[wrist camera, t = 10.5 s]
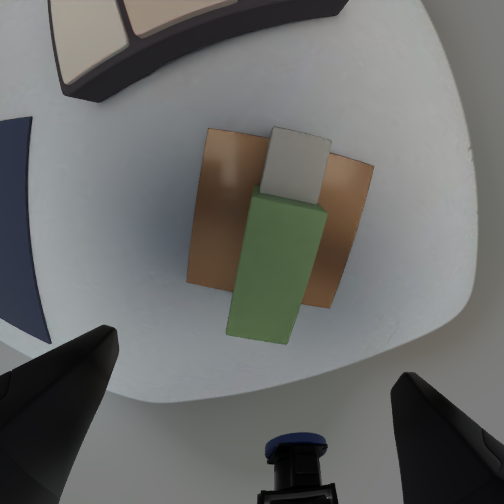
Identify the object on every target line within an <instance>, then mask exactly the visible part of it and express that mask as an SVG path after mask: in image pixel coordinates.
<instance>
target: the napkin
mask: <svg viewBox="0 0 504 504" xmlns="http://www.w3.org/2000/svg"><path fill="white" fill-rule="evenodd" d="M31 122H32V117H24V118H17V119H10V120H4V121H0V318H1V319H3V320H5V321H6V322H8V323H10V324H11V325H13V326H15V327H17V328H19V329H20V330H22V331H24V332H26V333H28V334H30V335H32V336H34V337H36V338H38V339H40V340H42V341H44V342H46V343H48V344H51V340H50V336H49V333H48V329H47V326H46V322H45V318H44V314H43V310H42V306H41V302H40V297H39V293H38V288H37V283H36V277H35V271H34V265H33V258H32V251H31V242H30V232H29V219H28V196H27V176H28V152H29V140H30V130H31Z"/></svg>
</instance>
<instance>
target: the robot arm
mask: <svg viewBox="0 0 504 504" xmlns="http://www.w3.org/2000/svg"><path fill="white" fill-rule="evenodd" d="M118 354H119V343H118V335H117V330H116V329H115V328H114V327H111V326H107V325H101V326H99V327H97V328H95V329H93V330H91V331H89V332H87V333H85V334H83V335H81V336H79V337H77V338H75V339H73V340H71V341H69V342H67V343H65V344H63V345H61V346H59V347H57V348H55V349H53V350H51V351H49V352H47V353H45V354H43V355H41V356H39V357H37V358H35V359H33V360H31V361H29V362H27V363H25V364H23V365H21V366H19V367H17V368H15V369H13V370H12V371H9V372H7V373H5V374H3V375H1V376H0V504H59V501H60V497H61V495H62V492H63V489H64V487H65V484H66V481H67V478H68V476H69V473H70V471H71V468H72V466H73V464H74V461H75V459H76V456H77V454H78V451H79V449H80V447H81V444H82V442H83V440H84V437H85V435H86V433H87V431H88V429H89V426H90V424H91V422H92V420H93V418H94V415H95V413H96V411H97V409H98V407H99V405H100V403H101V401H102V398H103V396H104V394H105V391H106V388H107V385H108V382H109V379H110V377H111V374H112V371H113V368H114V365H115V363H116V360H117V357H118ZM390 395H391V404H392V414H393V426H394V435H395V440H396V447H397V453H398V459H399V466H400V474H401V482H402V490H403V501H404V504H504V445H503V444H502V443H500V442H499V441H497V440H496V439H495V438H494V437H493V436H491V435H490V434H489V433H488V432H486V431H485V430H484V429H483V428H481V427H480V426H479V425H478V424H477V423H476V422H474V421H473V420H472V419H471V418H470V417H468V416H467V415H466V414H465V413H464V412H462V411H461V410H460V409H459V408H457V407H456V406H455V405H454V404H452V403H451V402H450V401H449V400H448V399H447V398H445V397H444V396H443V395H442V394H440V393H439V392H438V391H437V390H436V389H434V388H433V387H432V386H431V385H429V384H428V383H427V382H426V381H425V380H423V379H422V378H421V377H420V376H418V375H417V374H416V373H414V372H404V373H403V374H402V375H401V376H400V377H399V379H398V381H397V382H396V383H395V384H394V386H393V387H392V389H391V394H390ZM327 448H328V444H299V443H278V444H277V446H276V447H275V449H274V450H273V452H272V454H271V455H270V457H269V458H268V460H267V464H270V465H274V485H275V487H274V491H266V490H261V493H260V494H258V496H257V497H258V498H257V504H338V499H337V493H336V488H335V483H331V484H328V485H322V482H321V481H322V480H321V471H320V462H319V457H320V456H321V455H322V454H323V453H324V452H325V450H326V449H327ZM327 497H328V499H327Z"/></svg>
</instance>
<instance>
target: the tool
mask: <svg viewBox="0 0 504 504" xmlns="http://www.w3.org/2000/svg"><path fill="white" fill-rule="evenodd" d="M331 143H332V141H331V140H329V139H325V138H321V137H317V136H314V135H310V134H306V133H302V132H297V131H293V130H289V129H284V128H280V127H275V126H274V127H273V128H272V130H271V134H270V139H269V144H268V149H267V154H266V159H265V164H264V168H263V173H262V178H261V183H260V186H259V185H254V188H253V193H252V197H251V202H250V207H249V212H248V217H247V222H246V228H245V233H244V238H243V243H242V248H241V253H240V259H239V264H238V269H237V274H236V280H235V285H234V290H233V296H232V301H231V306H230V312H229V317H228V323H227V328H226V335H230V336H236V337H241V338H247V339H253V340H259V341H265V342H272V343H278V344H285V345H286V344H287V343H288V341H289V338H290V335H291V332H292V329H293V326H294V323H295V320H296V317H297V314H298V312H299V309H300V305H301V302H302V299H303V296H304V293H305V290H306V287H307V284H308V281H309V277H310V274H311V271H312V268H313V264H314V261H315V258H316V254H317V251H318V247H319V244H320V241H321V237H322V233H323V230H324V226H325V223H326V219H327V215H328V213H327V212H326V211H325V210H324V209H323V207H322V206H321V205H320V204H319V203H318V198H319V194H320V190H321V186H322V182H323V178H324V174H325V169H326V165H327V161H328V156H329V152H330V147H331Z"/></svg>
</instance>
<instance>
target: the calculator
mask: <svg viewBox="0 0 504 504" xmlns="http://www.w3.org/2000/svg"><path fill="white" fill-rule="evenodd" d="M348 1H349V0H48V12H49V22H50V31H51V38H52V44H53V51H54V56H55V62H56V67H57V72H58V77H59V81H60V85H61V90H62V93H63V94H64V95H65V96H68V97H73V98H78V99H83V100H87V101H92V102H97V103H99V102H102V101H103V100H105V99H107V98H108V97H110V96H111V95H113V94H115V93H116V92H118V91H120V90H122V89H123V88H125V87H127V86H129V85H130V84H132V83H134V82H136V81H138V80H140V79H142V78H144V77H145V76H147V75H149V74H150V73H152V72H153V71H154V70H155V69H156V68H158V67H159V66H160V65H161V64H163V63H165V62H167V61H170V60H172V59H174V58H176V57H179V56H181V55H183V54H186V53H188V52H191V51H193V50H196V49H198V48H201V47H204V46H206V45H209V44H212V43H215V42H217V41H220V40H223V39H226V38H230V37H233V36H236V35H239V34H243V33H246V32H250V31H253V30H257V29H261V28H265V27H269V26H274V25H278V24H283V23H288V22H293V21H299V20H304V19H311V18H318V17H326V16H334V15H337V14H339V12H340V11H341V10H342V9H343V7H344V6H345V5H346V3H347V2H348Z"/></svg>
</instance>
